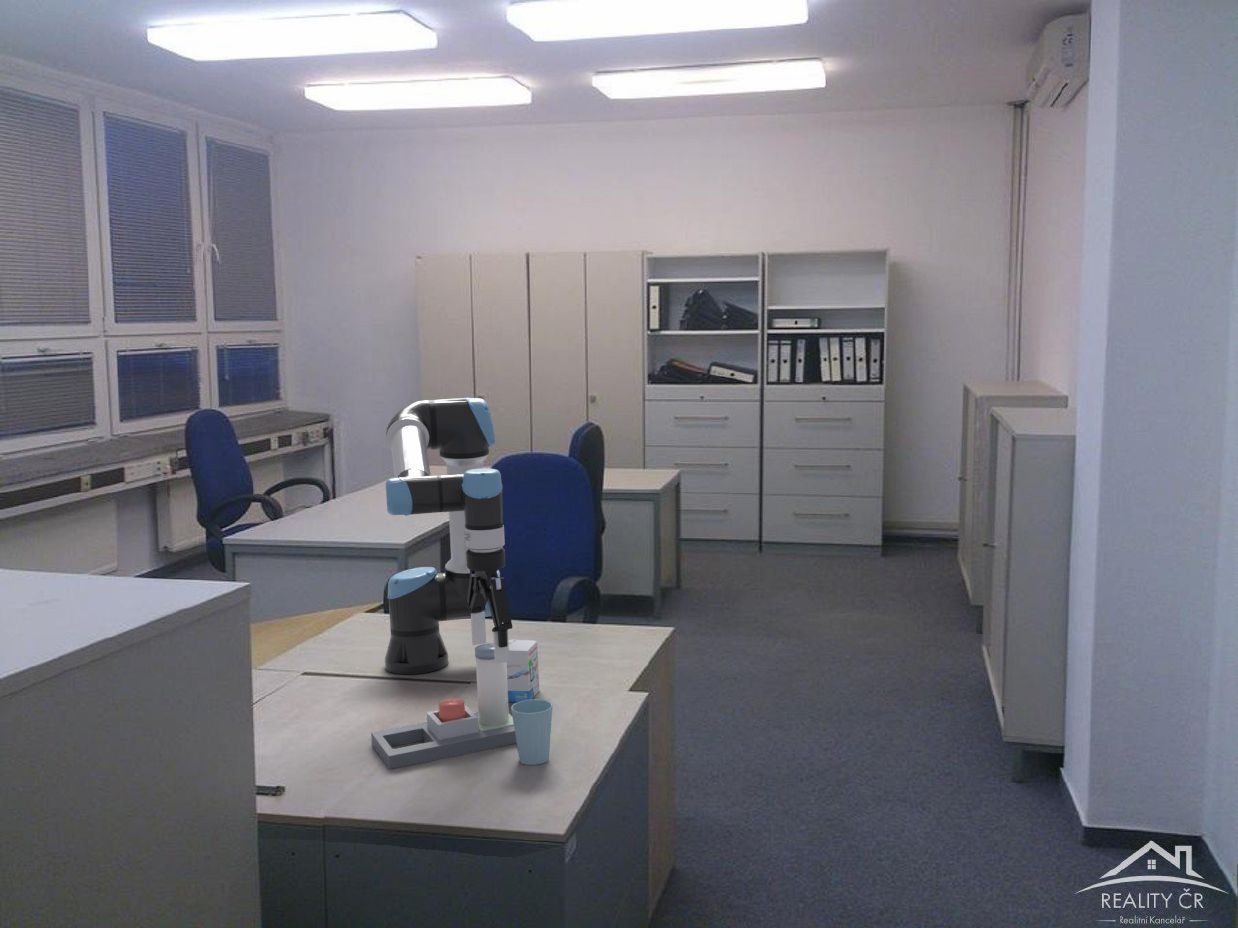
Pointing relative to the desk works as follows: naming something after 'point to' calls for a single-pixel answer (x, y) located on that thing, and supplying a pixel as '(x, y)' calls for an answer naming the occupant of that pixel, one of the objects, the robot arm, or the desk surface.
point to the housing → (440, 739)
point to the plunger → (451, 710)
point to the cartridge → (491, 687)
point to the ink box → (522, 670)
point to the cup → (532, 730)
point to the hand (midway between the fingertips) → (490, 652)
